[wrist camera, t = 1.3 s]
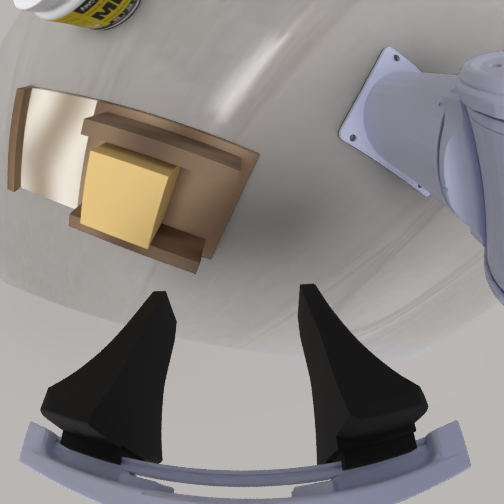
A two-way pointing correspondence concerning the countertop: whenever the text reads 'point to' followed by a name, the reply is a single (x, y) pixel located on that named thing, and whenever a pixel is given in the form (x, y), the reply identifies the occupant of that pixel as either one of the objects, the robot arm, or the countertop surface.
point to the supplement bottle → (81, 11)
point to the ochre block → (126, 193)
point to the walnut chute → (137, 139)
